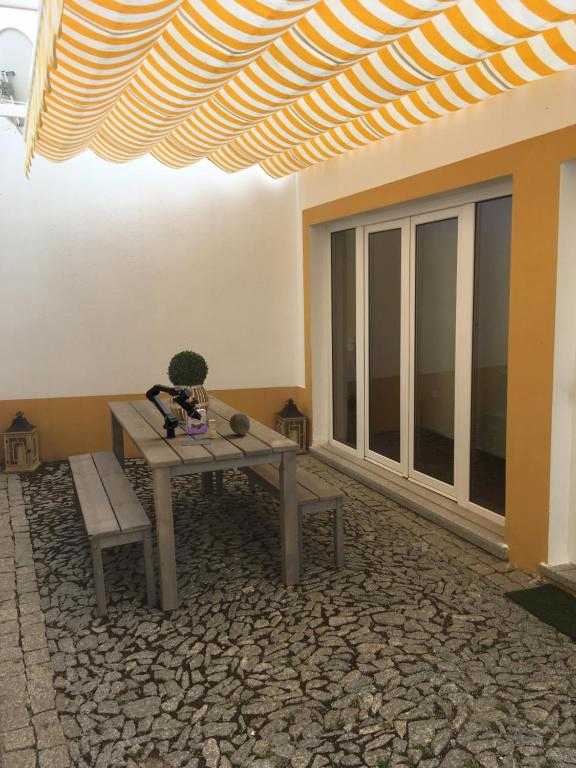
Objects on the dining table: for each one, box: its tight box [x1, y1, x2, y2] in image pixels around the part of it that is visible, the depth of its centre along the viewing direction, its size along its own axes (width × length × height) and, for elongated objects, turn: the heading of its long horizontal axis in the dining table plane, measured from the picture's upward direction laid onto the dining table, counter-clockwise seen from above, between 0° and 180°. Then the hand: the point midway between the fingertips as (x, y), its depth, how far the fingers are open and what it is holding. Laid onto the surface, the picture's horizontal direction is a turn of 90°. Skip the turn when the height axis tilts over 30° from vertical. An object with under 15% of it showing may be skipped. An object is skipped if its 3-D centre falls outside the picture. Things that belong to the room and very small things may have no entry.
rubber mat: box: [181, 438, 211, 447], centre depth 424 cm, size 14×18×1 cm
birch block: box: [208, 419, 217, 439], centre depth 436 cm, size 4×4×12 cm
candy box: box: [184, 408, 208, 435], centre depth 451 cm, size 14×6×16 cm, turn 112°
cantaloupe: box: [228, 413, 251, 436], centre depth 442 cm, size 14×14×15 cm
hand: (200, 418), depth 434 cm, fingers open, 9 cm apart
